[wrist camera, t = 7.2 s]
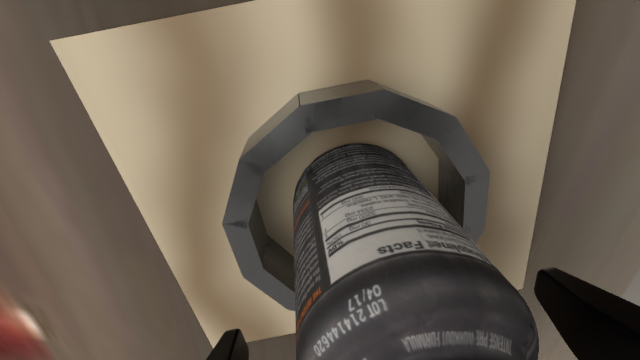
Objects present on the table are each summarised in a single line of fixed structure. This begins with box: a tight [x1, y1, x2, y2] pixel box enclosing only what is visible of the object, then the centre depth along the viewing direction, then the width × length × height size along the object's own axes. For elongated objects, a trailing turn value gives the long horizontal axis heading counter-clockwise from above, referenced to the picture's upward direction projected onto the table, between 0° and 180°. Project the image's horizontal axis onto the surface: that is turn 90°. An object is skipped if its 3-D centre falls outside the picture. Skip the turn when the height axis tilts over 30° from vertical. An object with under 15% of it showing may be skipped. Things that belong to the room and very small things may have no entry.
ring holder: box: [50, 0, 576, 349], centre depth 14 cm, size 20×18×3 cm
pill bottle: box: [293, 143, 539, 360], centre depth 10 cm, size 6×6×11 cm
